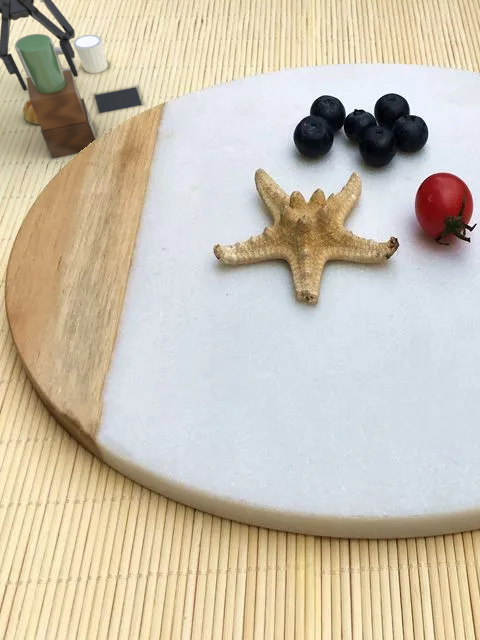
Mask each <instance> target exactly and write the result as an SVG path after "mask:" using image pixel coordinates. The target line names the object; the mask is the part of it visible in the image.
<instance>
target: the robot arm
mask: <svg viewBox="0 0 480 640" xmlns="http://www.w3.org/2000/svg"><path fill="white" fill-rule="evenodd" d="M38 1H39V2H40V3H43V4H44V6H45V7H46V9H47V10H48V11H49V12H50V14H51V15H52V16H53V18H54V19H55V20H56V21H57V23H58V24H59V25H60V27H61V28H62V29H61V28H60V27H59V26H57V25H56V24H55V23H54V22H52V21H51V20H50V18H48V17H47V16H46V15H45V14H44V13H42V12H41V11H40V10H39V9H38V8H37V6H35V5H34V3H35V0H0V14H1V22H0V60H1V61H2V62H3V64H4V67H5V68H6V70H7V72H8V74H9V75H11V76H12V75H16V78H17V80H18V82H19V85H20V86H21V88H22V90H23V92H26V91H28V86H27V84H26V82H25V81H24V79H23V76H22V74H21V72H20V70H19V68H18V66H17V63H16V61H15V60H14V57H13V55H12V53H9V43H10V33H11V32H10V31H11V22H12V21H17V20H20V19H26V18H29V17H31V18H32V19H34V20H35V21H37V22H38V23H39V24H40V25H41V26H43V28H45V29H46V30H47V31H48V32H50V34H52V35H53V36H54V37H55V38H57V40H59V41H58V42H59V47H61V49H62V51H63V54H62V55H63V56H64V58H65V60H66V63H67V64H68V65H67V66H69V67H68V68H69V69H71V71H72V73H73V77H74V78H76V77H78V75H79V74H78V73H79V72H78V70H77V67H76V68H75V66H74V63H73V61H72V58H74V59H75V58H76V54H75V51H74V49H73V46H72V44H71V42H70V41H71V40H72V39H75V37H76V32H75V29H74V28H73V26H72V24H70V22H69V21H68V20H67V19H66V17H65V16H64V14H63V13H62V12H61V11H60V9H59V8H58V7H57V5H56V4H55V3H54V2H53V0H38Z"/></svg>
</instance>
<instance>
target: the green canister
mask: <svg viewBox="0 0 480 640" xmlns="http://www.w3.org/2000/svg"><path fill="white" fill-rule="evenodd" d="M44 35H45V34H44ZM44 35H32V36H28V37H25V38H23V39H21V40H20V41H19V42H18V44H17V47H18V50H19V52H20V54H21V57H22V59H23V61H24V64H25V66H26V68H27V71H28V73H29V75H30V78H31V80H32V82H33V85H34V87H35V89H36V90H37V91H38V92H41V93H54V92H57V91H59V90H61V89H63V88H64V87H65V86H66V80H65V77H64V74H63V72H62V69H61V66H60V64H59V61H58V59H57V56H56V53H55V51H54V48H53V46H52V43H51V40H50V39H49V38H48V37H47V36H48V35H47V36H44Z"/></svg>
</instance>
